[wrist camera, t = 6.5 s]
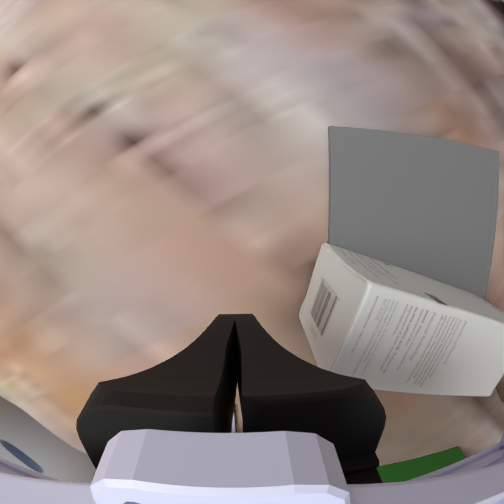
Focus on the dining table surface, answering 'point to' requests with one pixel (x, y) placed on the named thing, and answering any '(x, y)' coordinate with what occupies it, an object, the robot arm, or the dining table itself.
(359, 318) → the skincare box
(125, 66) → the dining table surface
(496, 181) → the mat
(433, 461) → the hardback book
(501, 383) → the wooden block
